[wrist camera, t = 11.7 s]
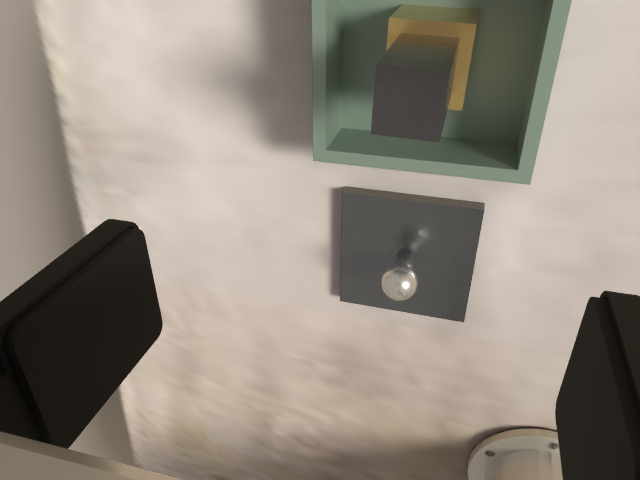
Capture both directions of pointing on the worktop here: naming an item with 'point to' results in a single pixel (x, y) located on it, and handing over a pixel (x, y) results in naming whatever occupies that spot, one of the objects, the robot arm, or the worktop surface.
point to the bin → (460, 126)
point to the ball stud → (408, 251)
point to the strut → (422, 70)
